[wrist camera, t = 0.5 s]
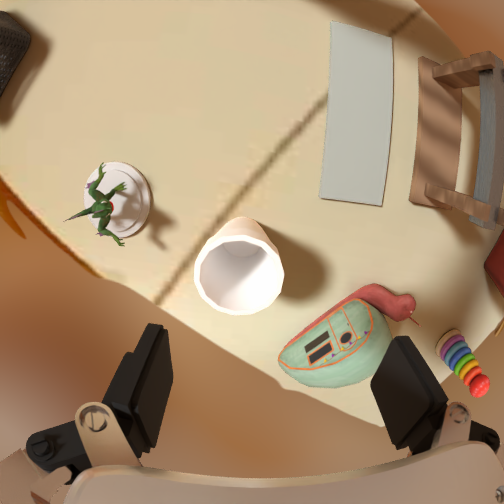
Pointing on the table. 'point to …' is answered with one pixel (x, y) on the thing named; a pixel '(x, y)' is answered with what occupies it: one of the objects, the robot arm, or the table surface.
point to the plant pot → (497, 264)
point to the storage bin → (10, 47)
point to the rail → (491, 143)
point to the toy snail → (346, 339)
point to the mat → (357, 115)
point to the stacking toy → (462, 362)
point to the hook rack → (445, 133)
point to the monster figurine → (116, 200)
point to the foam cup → (239, 269)
